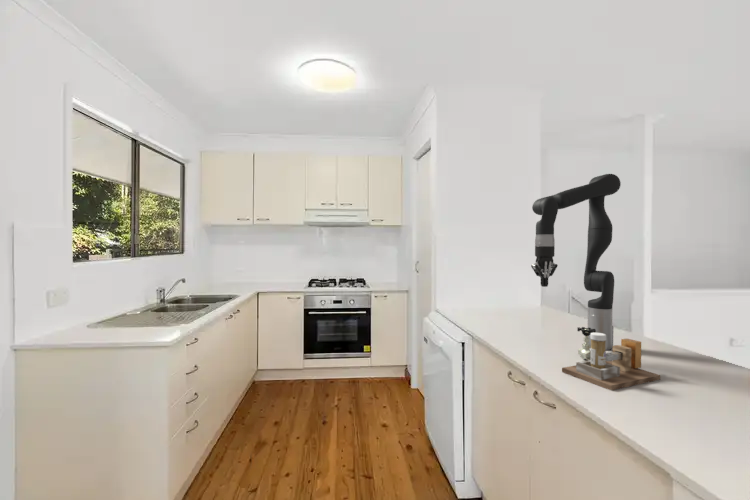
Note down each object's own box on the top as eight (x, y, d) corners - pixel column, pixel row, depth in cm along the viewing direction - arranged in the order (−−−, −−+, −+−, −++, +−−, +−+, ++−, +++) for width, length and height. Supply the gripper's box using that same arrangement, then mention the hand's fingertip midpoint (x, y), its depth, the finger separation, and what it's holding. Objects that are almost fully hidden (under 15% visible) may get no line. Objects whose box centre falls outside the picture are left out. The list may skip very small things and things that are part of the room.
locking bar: (626, 363, 137) (626, 338, 136) (641, 367, 132) (641, 341, 132) (597, 368, 131) (598, 342, 131) (611, 373, 126) (612, 346, 126)
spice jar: (605, 376, 124) (606, 335, 124) (589, 374, 126) (590, 334, 126) (605, 372, 128) (606, 333, 128) (590, 370, 130) (590, 331, 130)
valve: (591, 357, 151) (591, 327, 150) (599, 362, 144) (599, 330, 144) (573, 356, 151) (573, 326, 151) (581, 361, 145) (581, 330, 145)
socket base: (608, 363, 142) (608, 339, 142) (660, 379, 126) (660, 351, 126) (561, 372, 133) (562, 345, 133) (611, 390, 117) (611, 360, 116)
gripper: (549, 245, 166) (548, 284, 166) (525, 245, 161) (525, 286, 161) (563, 245, 159) (563, 286, 159) (539, 245, 154) (539, 288, 154)
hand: (544, 286), depth 160 cm, fingers closed
